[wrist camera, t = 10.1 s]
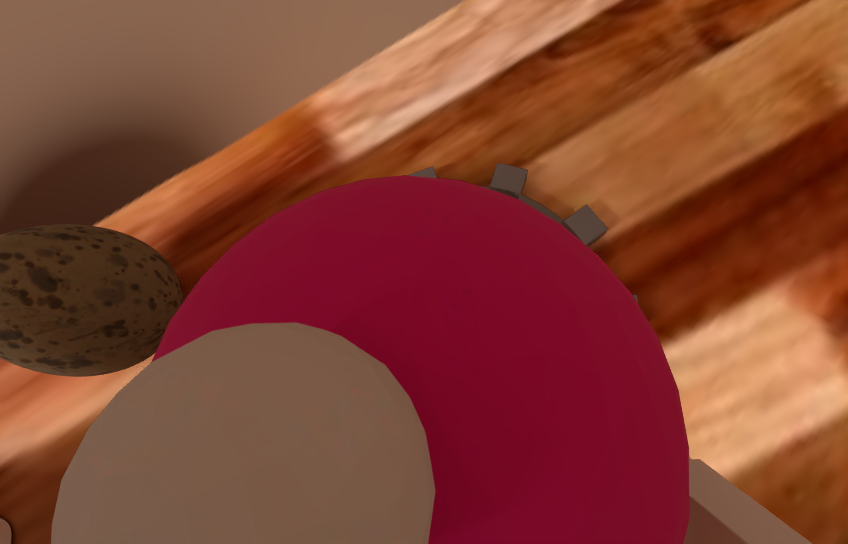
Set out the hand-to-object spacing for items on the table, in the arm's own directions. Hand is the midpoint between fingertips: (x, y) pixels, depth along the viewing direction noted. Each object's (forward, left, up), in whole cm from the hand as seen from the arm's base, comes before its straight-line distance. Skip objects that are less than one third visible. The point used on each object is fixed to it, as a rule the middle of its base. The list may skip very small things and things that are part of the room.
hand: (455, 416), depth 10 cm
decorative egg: (-28, -8, -24) cm, 37 cm away
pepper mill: (0, +1, -12) cm, 12 cm away
